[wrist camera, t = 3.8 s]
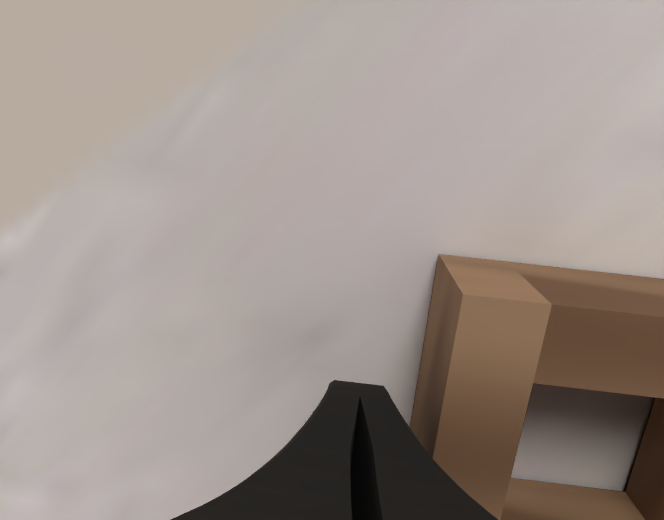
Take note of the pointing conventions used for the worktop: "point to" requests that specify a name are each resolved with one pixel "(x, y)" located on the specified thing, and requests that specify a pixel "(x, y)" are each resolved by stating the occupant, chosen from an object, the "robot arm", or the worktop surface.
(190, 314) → the worktop surface
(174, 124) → the worktop surface
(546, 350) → the brown square frame
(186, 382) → the worktop surface
